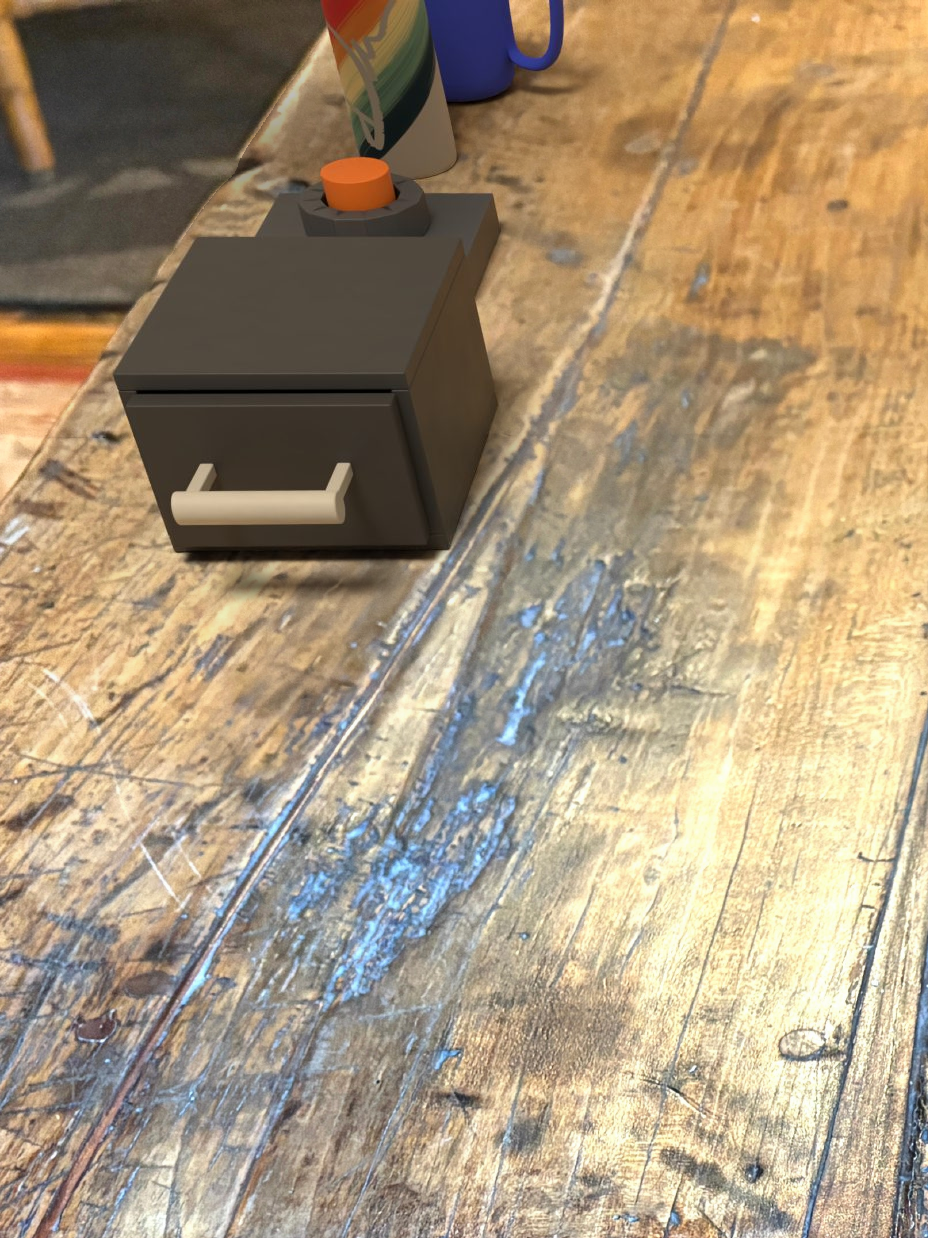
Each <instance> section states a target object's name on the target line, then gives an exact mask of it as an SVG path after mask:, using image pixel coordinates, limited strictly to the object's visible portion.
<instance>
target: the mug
mask: <svg viewBox="0 0 928 1238" xmlns="http://www.w3.org/2000/svg"><path fill="white" fill-rule="evenodd" d="M424 2H425V7H426V11H427V16H428V20H429V25H430V30H431V34H432V39H433V43H434V48H435V53H436V57H437V62H438V66H439V71H440V76H441V80H442V85H443V89H444V94H445V98H446V102H450V103H451V102H452V103H464V102H475V101H480V100H485V99H488V98H489V99H490V98H492V97H494V96H497V95H499V94H502V93H503V92H504V91H506V90H507V89H508V88H509V87H510V86H511V84H512V83H513V81H514V78H515V72H516V66H517V67H518V68H520V69H523V70H524V71H529V72H543V71H546V70H548V69H549V68H551V67H552V66H553V65H554V64H555V63H556V62H557V60H558V59H559V57H560V55H561V52H562V48H563V45H564V44H563V43H564V36H565V35H564V32H565V12H564V11H565V9H564V0H548V6H549V7H548V8H549V40H548V46H547V49H546V51H545V53H544V54H543V55H542V56H539V57H532V56H529V55H527V54H526V55H525V54H524V53H523V52H521V50H520V49H519V47H518V45H517V41H516V38H515V33H514V27H513V20H512V19H513V18H512V12H511V5H510V0H424Z"/></svg>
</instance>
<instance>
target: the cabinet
mask: <svg viewBox="0 0 928 1238" xmlns="http://www.w3.org/2000/svg"><path fill="white" fill-rule="evenodd" d="M464 252H465V251H464V247H463V242H462V238H461V237H255V236H196V237H195V239H194V240H193V242H192V244H191V245H190V247H189V249H188V250H187V252H186V253H185V255H184V256H183V258H182V260H181V261H180V263H179V265H178V266H177V268H176V270H175V272H174V273H173V274H172V276H171V278H170V279H169V281H168V282H167V284H166V286H165V287H164V289H163V291H162V292H161V294H160V295H159V297H158V298H157V300H156V302H155V304H154V306H153V307H152V309H151V310H150V311H149V313H148V315H147V317H146V319H144V321H143V323H142V325H141V327H140V328H139V330H138V331H137V333H136V335H135V336H134V338H133V340H132V341H131V343H130V344H129V346H128V348H127V350H126V351H125V352H124V354H123V356H122V357H121V358H120V361H119V363H118V364H117V365H116V367H115V369H114V370H113V372H112V378H113V380H114V383H115V386H116V389H117V392H118V396H119V398H120V401H121V404H122V407H123V410H124V412H125V415H126V418H127V421H128V424H129V427H130V430H131V432H132V436H133V438H134V439H133V440H134V441H135V444H136V448H137V450H138V453H139V455H140V458H141V461H142V464H143V467H144V470H145V472H146V475H147V478H148V482H149V485H150V487H151V490H152V493H153V496H154V499H155V501H156V504H157V508H158V509H159V513H160V515H161V519H162V522H163V525H164V528H165V530H166V534H167V536H168V538H169V540H170V543H171V544H170V545H171V546H172V549H173V552H267V551H269V552H270V551H271V552H273V551H275V552H277V551H280V552H281V551H284V552H285V551H286V552H287V551H383V550H384V551H386V550H387V551H390V550H392V551H394V550H395V551H396V550H400V551H401V550H402V551H403V550H448V549H449V548H450V545H451V542H452V540H453V536H454V533H455V532H456V531H455V530H456V528H457V525H458V522H459V519H460V516H461V514H462V510H463V507H464V505H465V502H466V500H467V496H468V493H469V490H470V487H471V484H472V481H473V479H474V476H475V473H476V470H477V467H478V465H479V461H480V459H481V456H482V452H483V450H484V447H485V444H486V441H487V438H488V436H489V433H490V430H491V427H492V424H493V420H494V418H495V415H496V412H497V409H498V406H499V402H498V398H497V397H498V396H497V393H496V387H495V382H494V378H493V373H492V369H491V365H490V360H489V357H488V352H487V347H486V342H485V338H484V333H483V329H482V328H483V327H482V323H481V320H480V319H481V318H480V315H479V311H478V310H479V309H478V305H477V301H476V295H475V296H474V292H473V287H472V283H471V278H470V274H469V269H468V265H467V260H466V256H465V253H464ZM379 389H392V390H391V392H392V393H395V394H396V398H397V402H398V406H399V409H400V413H401V417H402V421H403V425H404V429H405V433H406V437H407V441H408V445H409V449H410V453H411V457H412V460H413V464H414V468H415V472H416V476H417V480H418V484H419V488H420V492H421V496H422V500H423V504H424V508H425V512H426V515H427V519H428V523H429V527H430V531H431V533H430V536H429V538H428V541H427V544H426V545H354V546H236V547H175V546H174V544H173V541H172V538H171V536H170V533H169V530H168V527H167V524H166V521H165V518H164V515H163V513H162V510H161V507H160V504H159V501H158V498H157V495H156V492H155V490H154V487H153V484H152V481H151V478H150V475H149V472H148V469H147V467H146V464H145V461H144V458H143V455H142V452H141V449H140V446H139V444H138V441H137V438H136V435H135V432H134V429H133V426H132V423H131V421H130V418H129V415H128V412H127V409H126V405H127V403H128V402H129V400H130V398H131V396H132V395H133V394H162V393H161V390H379Z"/></svg>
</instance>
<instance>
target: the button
mask: <svg viewBox="0 0 928 1238" xmlns="http://www.w3.org/2000/svg"><path fill="white" fill-rule="evenodd" d="M319 175H320V178H321V181H322V183H323V187H324V191H325V194H326V198H327V202H328V206H329V207H330V208H334V209H338V210H342V211H366V210H370V209H375V208H380V207H384V206H386V205H388V204H390V203H392V202H394V201H396V196H395V192H394V188H393V184H392V179H391V175H390V171H389V167H388V165H387V164H386V163H385V162H383V161H381V160H378V159H374V158H366V157H360V156H357V157H355V156H354V157H346V158H341V159H337V160H334V161H331V162H329V163H327V164H325V165H324V166H323V167H322V168H321V169H320V171H319Z"/></svg>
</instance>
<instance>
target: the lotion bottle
mask: <svg viewBox="0 0 928 1238" xmlns="http://www.w3.org/2000/svg"><path fill="white" fill-rule="evenodd" d="M320 3H321V8H322V12H323V16H324V20H325V24H326V29H327V32H328V37H329V40H330V45H331V48H332V52H333V57H334V60H335V64H336V68H337V72H338V77H339V81H340V84H341V85H340V86H341V88H342V89H341V90H342V92H343V97H344V99H345V105H346V109H347V112H348V117H349V120H350V125H351V129H352V133H353V136H354V139H355V145H356V148H357V151H358V155H359V157H366V158H374V159H378V160H381V161H383V162H385V163H386V164H387V165H388V167H389V171H390V173H392V174H396V175H400V176H404V177H408V178H412V179H413V180H421V179H425V178H429V177H433V176H437V175H440V174H443V173H444V172H447V171H448V170H450V169H451V168H452V167H453V166H454V165H455V163H456V161H457V159H458V158H457V147H456V142H455V141H456V140H455V136H454V131H453V127H452V123H451V118H450V113H449V108H448V103H447V101H446V98H445V94H444V89H443V85H442V80H441V76H440V71H439V66H438V62H437V57H436V53H435V48H434V43H433V39H432V34H431V30H430V25H429V20H428V16H427V11H426V7H425V2H424V0H320Z"/></svg>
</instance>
